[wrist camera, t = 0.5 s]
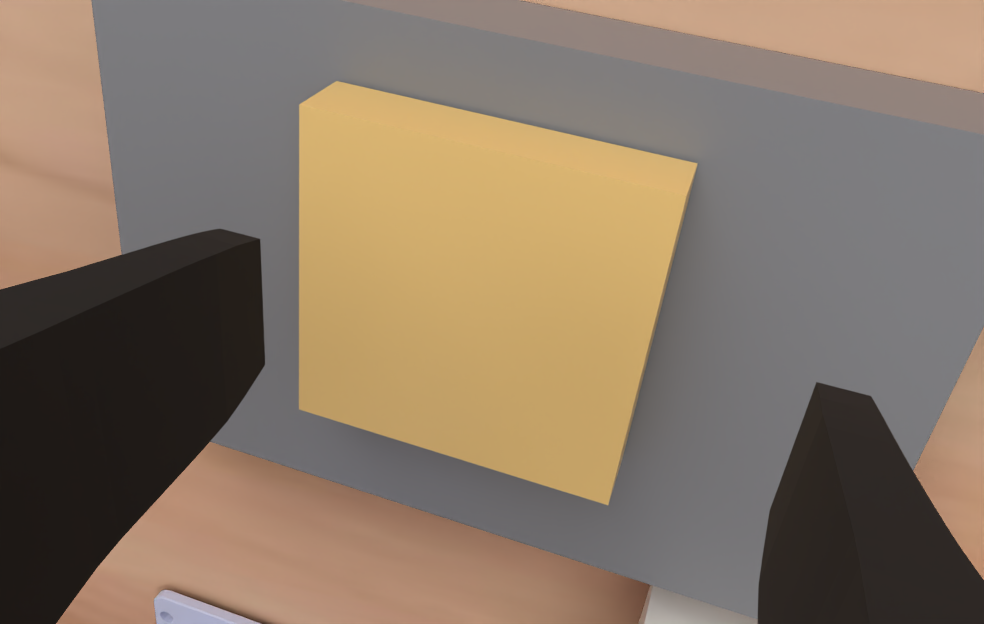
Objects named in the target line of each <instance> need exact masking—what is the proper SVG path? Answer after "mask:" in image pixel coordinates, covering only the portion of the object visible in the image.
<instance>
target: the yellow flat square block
mask: <svg viewBox="0 0 984 624" xmlns="http://www.w3.org/2000/svg"><path fill="white" fill-rule="evenodd" d="M697 165H698V163H694V162H689V161H685V160H680V159H676V158H672V157H667V156H663V155H659V154H654V153H650V152H645V151H641V150H637V149H632V148H628V147H624V146H619V145H615V144H610V143H606V142H602V141H597V140H593V139H589V138H584V137H580V136H575V135H571V134H567V133H562V132H558V131H554V130H549V129H545V128H540V127H536V126H532V125H527V124H523V123H519V122H514V121H510V120H505V119H501V118H497V117H492V116H488V115H484V114H479V113H475V112H470V111H466V110H462V109H457V108H453V107H449V106H444V105H440V104H435V103H431V102H427V101H422V100H418V99H414V98H409V97H405V96H400V95H396V94H392V93H387V92H383V91H379V90H374V89H370V88H365V87H361V86H357V85H352V84H348V83H343V82H339V81H336V82H334V83H333V84H331V85H329V86H328V87H326V88H325V89H323V90H321V91H320V92H318V93H317V94H315V95H313V96H312V97H310V98H309V99H307V100H305V101H304V102H302V103H301V104H299V410H303V411H306V412H309V413H312V414H316V415H319V416H322V417H325V418H328V419H332V420H335V421H338V422H341V423H345V424H348V425H351V426H354V427H357V428H361V429H364V430H367V431H370V432H374V433H377V434H380V435H383V436H386V437H390V438H393V439H396V440H399V441H403V442H406V443H409V444H412V445H415V446H419V447H422V448H425V449H428V450H432V451H435V452H438V453H441V454H444V455H448V456H451V457H454V458H457V459H461V460H464V461H467V462H470V463H473V464H477V465H480V466H483V467H486V468H490V469H493V470H496V471H499V472H502V473H506V474H509V475H512V476H515V477H519V478H522V479H525V480H528V481H531V482H535V483H538V484H541V485H544V486H548V487H551V488H554V489H557V490H560V491H564V492H567V493H570V494H573V495H577V496H580V497H583V498H586V499H589V500H593V501H596V502H599V503H602V504H606V505H608V504H609V501H610V497H611V494H612V491H613V488H614V484H615V481H616V478H617V475H618V471H619V468H620V465H621V462H622V458H623V454H624V450H625V446H626V442H627V438H628V434H629V431H630V427H631V423H632V419H633V415H634V411H635V407H636V403H637V399H638V395H639V391H640V388H641V384H642V380H643V376H644V372H645V368H646V364H647V360H648V356H649V352H650V348H651V345H652V341H653V337H654V333H655V329H656V325H657V321H658V317H659V313H660V309H661V305H662V302H663V298H664V294H665V290H666V286H667V282H668V278H669V274H670V270H671V266H672V262H673V259H674V255H675V251H676V247H677V243H678V239H679V235H680V231H681V227H682V223H683V219H684V215H685V212H686V208H687V204H688V200H689V196H690V192H691V188H692V184H693V180H694V176H695V172H696V169H697Z"/></svg>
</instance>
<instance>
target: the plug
mask: <svg viewBox="0 0 984 624" xmlns="http://www.w3.org/2000/svg"><path fill="white" fill-rule="evenodd" d="M638 624H758V620H757V619H754V618H751V617H748V616H745V615H742V614H739V613H736V612H733V611H730V610H726V609H723V608H720V607H717V606H714V605H711V604H708V603H705V602H702V601H699V600H696V599H693V598H690V597H686V596H683V595H680V594H677V593H674V592H671V591H668V590H665V589H662V588H659V587H656V586H653V585H650V587H649V591H648V594H647V597H646V600H645V604H644V607H643V610H642V613H641V617H640V620H639V623H638Z"/></svg>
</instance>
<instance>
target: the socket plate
mask: <svg viewBox="0 0 984 624" xmlns="http://www.w3.org/2000/svg"><path fill="white" fill-rule="evenodd" d="M92 8H93V17H94V25H95V34H96V42H97V50H98V59H99V67H100V76H101V84H102V92H103V101H104V109H105V118H106V126H107V134H108V143H109V151H110V160H111V168H112V176H113V185H114V193H115V202H116V210H117V218H118V227H119V235H120V244H121V252H122V255H123V254H126V253H129V252H133V251H136V250H139V249H143V248H146V247H149V246H152V245H156V244H159V243H162V242H166V241H169V240H173V239H176V238H180V237H184V236H187V235H191V234H195V233H199V232H204V231H209V230H214V229H219V228H220V229H224V230H228V231H232V232H236V233H239V234H243V235H247V236H251V237H255V238H259V239H260V244H261V270H262V295H263V320H264V346H265V366H264V367H263V369H262V371H261V372H260V374H259V375H258V377H257V378H256V380H255V381H254V383H253V385H252V386H251V388H250V389H249V391H248V392H247V394H246V396H245V397H244V398H243V400H242V401H241V403H240V404H239V406H238V407H237V408H236V410H235V411H234V413H233V414H232V416H231V417H230V418H229V420H228V421H227V423H226V424H225V425H224V426H223V427H222V428H221V429H220V431H219V432H218V433H217V434H216V435H215V436H214V437H213V439H212V440H211V441H210V442H213V443H216V444H219V445H222V446H225V447H228V448H231V449H234V450H237V451H241V452H244V453H247V454H250V455H253V456H256V457H259V458H262V459H265V460H268V461H271V462H274V463H277V464H280V465H284V466H287V467H290V468H293V469H296V470H299V471H302V472H305V473H308V474H311V475H314V476H317V477H320V478H324V479H327V480H330V481H333V482H336V483H339V484H342V485H345V486H348V487H351V488H354V489H357V490H360V491H364V492H367V493H370V494H373V495H376V496H379V497H382V498H385V499H388V500H391V501H394V502H397V503H400V504H404V505H407V506H410V507H413V508H416V509H419V510H422V511H425V512H428V513H431V514H434V515H437V516H440V517H443V518H447V519H450V520H453V521H456V522H459V523H462V524H465V525H468V526H471V527H474V528H477V529H480V530H483V531H487V532H490V533H493V534H496V535H499V536H502V537H505V538H508V539H511V540H514V541H517V542H520V543H523V544H527V545H530V546H533V547H536V548H539V549H542V550H545V551H548V552H551V553H554V554H557V555H560V556H563V557H567V558H570V559H573V560H576V561H579V562H582V563H585V564H588V565H591V566H594V567H597V568H600V569H603V570H606V571H610V572H613V573H616V574H619V575H622V576H625V577H628V578H631V579H634V580H637V581H640V582H643V583H646V584H650V585H653V586H656V587H659V588H662V589H665V590H668V591H671V592H674V593H677V594H680V595H683V596H686V597H690V598H693V599H696V600H699V601H702V602H705V603H708V604H711V605H714V606H717V607H720V608H723V609H726V610H730V611H733V612H736V613H739V614H742V615H745V616H748V617H751V618H754V619H757V620H758V586H759V578H760V571H761V564H762V556H763V550H764V543H765V537H766V530H767V524H768V518H769V511H770V508H771V505H772V503H773V500H774V497H775V494H776V492H777V489H778V486H779V483H780V481H781V478H782V475H783V472H784V470H785V467H786V464H787V461H788V459H789V456H790V453H791V450H792V448H793V445H794V442H795V440H796V437H797V434H798V431H799V429H800V426H801V423H802V420H803V418H804V415H805V412H806V409H807V407H808V404H809V401H810V398H811V396H812V393H813V390H814V387H815V385H816V382H819V383H823V384H826V385H830V386H834V387H838V388H842V389H846V390H850V391H854V392H857V393H861V394H865V395H869V396H871V397H872V398H873V400H874V402H875V404H876V405H877V407H878V409H879V411H880V412H881V414H882V416H883V418H884V419H885V421H886V423H887V425H888V427H889V429H890V430H891V432H892V434H893V436H894V438H895V440H896V441H897V443H898V445H899V447H900V449H901V450H902V452H903V454H904V456H905V458H906V459H907V461H908V463H909V465H910V466H911V468H912V470H914V468H915V466H916V464H917V462H918V460H919V458H920V456H921V454H922V452H923V450H924V447H925V445H926V443H927V441H928V439H929V437H930V435H931V433H932V431H933V429H934V427H935V425H936V423H937V421H938V419H939V417H940V415H941V413H942V411H943V409H944V407H945V405H946V402H947V400H948V398H949V396H950V394H951V392H952V390H953V388H954V386H955V384H956V382H957V380H958V378H959V376H960V374H961V372H962V370H963V368H964V366H965V364H966V362H967V360H968V358H969V355H970V353H971V351H972V349H973V347H974V345H975V343H976V341H977V339H978V337H979V335H980V333H981V331H982V329H983V327H984V93H980V92H975V91H970V90H965V89H960V88H955V87H950V86H945V85H940V84H935V83H930V82H925V81H920V80H915V79H910V78H905V77H900V76H895V75H890V74H885V73H880V72H875V71H870V70H865V69H860V68H855V67H850V66H845V65H840V64H835V63H830V62H825V61H820V60H815V59H810V58H805V57H800V56H795V55H790V54H785V53H780V52H775V51H770V50H765V49H760V48H755V47H750V46H745V45H740V44H735V43H730V42H725V41H720V40H715V39H710V38H705V37H700V36H695V35H690V34H685V33H680V32H675V31H670V30H665V29H660V28H655V27H650V26H645V25H640V24H635V23H630V22H625V21H620V20H615V19H610V18H605V17H600V16H595V15H590V14H585V13H580V12H575V11H570V10H565V9H560V8H555V7H550V6H545V5H540V4H535V3H530V2H525V1H520V0H92ZM336 81H339V82H343V83H348V84H352V85H357V86H361V87H365V88H370V89H374V90H379V91H383V92H387V93H392V94H396V95H400V96H405V97H409V98H414V99H418V100H422V101H427V102H431V103H435V104H440V105H444V106H449V107H453V108H457V109H462V110H466V111H470V112H475V113H479V114H484V115H488V116H492V117H497V118H501V119H505V120H510V121H514V122H519V123H523V124H527V125H532V126H536V127H540V128H545V129H549V130H554V131H558V132H562V133H567V134H571V135H575V136H580V137H584V138H589V139H593V140H597V141H602V142H606V143H610V144H615V145H619V146H624V147H628V148H632V149H637V150H641V151H645V152H650V153H654V154H659V155H663V156H667V157H672V158H676V159H680V160H685V161H689V162H694V163H698V165H697V169H696V172H695V176H694V180H693V184H692V188H691V192H690V196H689V200H688V204H687V208H686V212H685V215H684V219H683V223H682V227H681V231H680V235H679V239H678V243H677V247H676V251H675V255H674V259H673V262H672V266H671V270H670V274H669V278H668V282H667V286H666V290H665V294H664V298H663V302H662V305H661V309H660V313H659V317H658V321H657V325H656V329H655V333H654V337H653V341H652V345H651V348H650V352H649V356H648V360H647V364H646V368H645V372H644V376H643V380H642V384H641V388H640V391H639V395H638V399H637V403H636V407H635V411H634V415H633V419H632V423H631V427H630V431H629V434H628V438H627V442H626V446H625V450H624V454H623V458H622V462H621V465H620V468H619V471H618V475H617V478H616V481H615V484H614V488H613V491H612V494H611V497H610V501H609V504H608V505H606V504H602V503H599V502H596V501H593V500H589V499H586V498H583V497H580V496H577V495H573V494H570V493H567V492H564V491H560V490H557V489H554V488H551V487H548V486H544V485H541V484H538V483H535V482H531V481H528V480H525V479H522V478H519V477H515V476H512V475H509V474H506V473H502V472H499V471H496V470H493V469H490V468H486V467H483V466H480V465H477V464H473V463H470V462H467V461H464V460H461V459H457V458H454V457H451V456H448V455H444V454H441V453H438V452H435V451H432V450H428V449H425V448H422V447H419V446H415V445H412V444H409V443H406V442H403V441H399V440H396V439H393V438H390V437H386V436H383V435H380V434H377V433H374V432H370V431H367V430H364V429H361V428H357V427H354V426H351V425H348V424H345V423H341V422H338V421H335V420H332V419H328V418H325V417H322V416H319V415H316V414H312V413H309V412H306V411H303V410H299V104H301V103H302V102H304V101H305V100H307V99H309V98H310V97H312V96H313V95H315V94H317V93H318V92H320V91H321V90H323V89H325V88H326V87H328V86H329V85H331V84H333V83H334V82H336Z"/></svg>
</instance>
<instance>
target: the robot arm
mask: <svg viewBox="0 0 984 624" xmlns="http://www.w3.org/2000/svg"><path fill="white" fill-rule="evenodd" d="M264 366H265V346H264V320H263V295H262V270H261V244H260V239H259V238H255V237H251V236H247V235H243V234H239V233H236V232H232V231H228V230H224V229H220V228H219V229H214V230H209V231H204V232H199V233H195V234H191V235H187V236H184V237H180V238H176V239H173V240H169V241H166V242H162V243H159V244H156V245H152V246H149V247H146V248H143V249H139V250H136V251H133V252H129V253H126V254H123V255H120V256H116V257H113V258H110V259H107V260H103V261H100V262H97V263H93V264H90V265H87V266H84V267H80V268H77V269H74V270H70V271H67V272H63V273H60V274H56V275H52V276H49V277H45V278H41V279H38V280H34V281H30V282H27V283H23V284H19V285H16V286H12V287H8V288H5V289H1V290H0V624H56V623H57V621H58V620H59V619H60V617H61V616H62V614H63V613H64V612H65V610H66V609H67V608H68V606H69V605H70V604H71V602H72V601H73V600H74V598H75V597H76V595H77V594H78V593H79V591H80V590H81V589H82V587H83V586H84V585H85V583H86V582H87V580H88V579H89V578H90V576H91V575H92V574H93V572H94V571H95V570H96V568H97V567H98V566H99V565H100V563H101V562H102V561H103V560H104V559H105V557H106V556H107V555H108V554H109V553H110V551H111V550H112V549H113V548H114V547H115V546H116V544H117V543H118V542H119V541H120V540H121V538H122V537H123V536H124V535H125V534H126V533H127V532H128V531H129V530H130V529H131V528H132V526H133V525H134V524H135V523H136V522H137V521H138V520H139V519H140V518H141V517H142V516H143V514H144V513H145V512H146V511H147V510H148V509H149V508H150V507H151V506H152V505H153V503H154V502H155V501H156V500H157V499H158V498H159V497H160V496H161V495H162V494H163V493H164V491H165V490H166V489H167V488H168V487H169V486H170V485H171V484H172V483H173V482H174V481H175V479H176V478H177V477H178V476H179V475H180V474H181V473H182V472H183V471H184V470H185V469H186V467H187V466H188V465H189V464H190V463H191V462H192V461H193V460H194V459H195V458H196V456H197V455H198V454H199V453H200V452H201V451H202V450H203V449H204V447H205V446H206V445H207V444H208V443H209V442H210V441H211V440H212V439H213V437H214V436H215V435H216V434H217V433H218V432H219V431H220V429H221V428H222V427H223V426H224V425H225V424H226V423H227V421H228V420H229V418H230V417H231V416H232V414H233V413H234V411H235V410H236V408H237V407H238V406H239V404H240V403H241V401H242V400H243V398H244V397H245V396H246V394H247V392H248V391H249V389H250V388H251V386H252V385H253V383H254V381H255V380H256V378H257V377H258V375H259V374H260V372H261V371H262V369H263V367H264ZM154 607H155V615H156V623H157V624H261V623H258V622H256V621H253V620H250V619H247V618H245V617H242V616H239V615H237V614H234V613H231V612H228V611H226V610H223V609H220V608H217V607H215V606H212V605H209V604H206V603H204V602H201V601H198V600H196V599H193V598H190V597H187V596H185V595H182V594H179V593H176V592H174V591H171V590H162V591H161V592H159V594H158V595H157V596H156V597H155V599H154ZM758 624H984V580H983V579H982V577H981V576H980V575H979V573H978V572H977V570H976V569H975V568H974V566H973V565H972V563H971V562H970V561H969V559H968V558H967V556H966V555H965V554H964V552H963V551H962V549H961V548H960V546H959V545H958V543H957V542H956V540H955V539H954V537H953V536H952V534H951V533H950V531H949V529H948V528H947V526H946V525H945V523H944V521H943V520H942V518H941V516H940V515H939V513H938V512H937V510H936V508H935V507H934V505H933V504H932V502H931V500H930V499H929V497H928V496H927V494H926V492H925V491H924V489H923V487H922V485H921V484H920V482H919V480H918V479H917V477H916V475H915V473H914V472H913V470H912V468H911V466H910V465H909V463H908V461H907V459H906V458H905V456H904V454H903V452H902V450H901V449H900V447H899V445H898V443H897V441H896V440H895V438H894V436H893V434H892V432H891V430H890V429H889V427H888V425H887V423H886V421H885V419H884V418H883V416H882V414H881V412H880V411H879V409H878V407H877V405H876V404H875V402H874V400H873V398H872V397H871V396H869V395H865V394H861V393H857V392H854V391H850V390H846V389H842V388H838V387H834V386H830V385H826V384H823V383H819V382H816V385H815V387H814V390H813V393H812V396H811V398H810V401H809V404H808V407H807V409H806V412H805V415H804V418H803V420H802V423H801V426H800V429H799V431H798V434H797V437H796V440H795V442H794V445H793V448H792V450H791V453H790V456H789V459H788V461H787V464H786V467H785V470H784V472H783V475H782V478H781V481H780V483H779V486H778V489H777V492H776V494H775V497H774V500H773V503H772V505H771V508H770V511H769V518H768V524H767V530H766V537H765V543H764V550H763V556H762V564H761V571H760V578H759V586H758Z"/></svg>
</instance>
